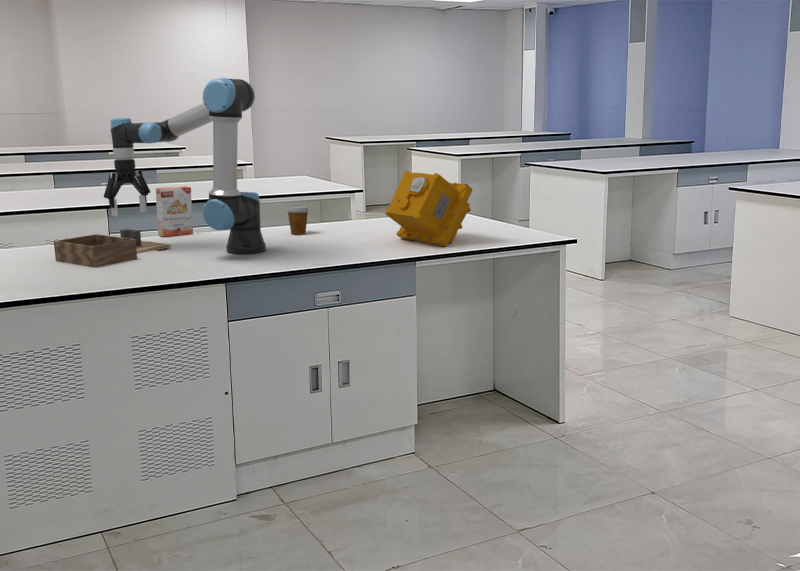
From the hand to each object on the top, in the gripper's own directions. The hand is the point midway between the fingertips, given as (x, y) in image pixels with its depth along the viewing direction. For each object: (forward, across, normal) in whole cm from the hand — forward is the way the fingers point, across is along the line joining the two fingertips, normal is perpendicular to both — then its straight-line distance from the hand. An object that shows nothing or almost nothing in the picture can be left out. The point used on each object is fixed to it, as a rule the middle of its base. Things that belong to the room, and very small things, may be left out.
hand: (129, 214), depth 303 cm
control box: (+16, -77, +90) cm, 120 cm away
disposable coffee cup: (+15, -64, +31) cm, 73 cm away
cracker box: (+14, -34, -13) cm, 39 cm away
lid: (+14, 0, -1) cm, 15 cm away
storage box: (+14, +23, +8) cm, 28 cm away
